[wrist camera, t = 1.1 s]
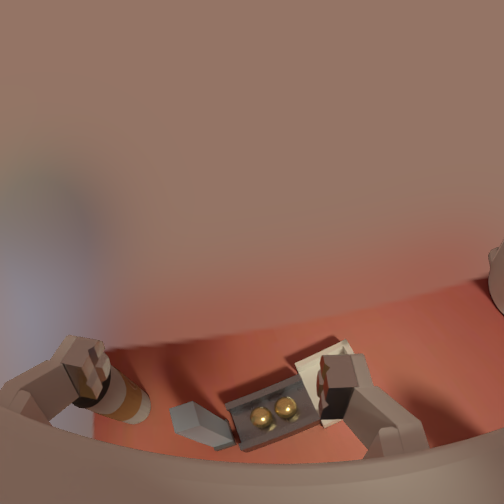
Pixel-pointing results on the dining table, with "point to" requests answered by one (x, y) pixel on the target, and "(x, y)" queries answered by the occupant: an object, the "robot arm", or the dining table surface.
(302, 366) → the ball tray
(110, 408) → the coffee cup
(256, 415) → the brass sphere
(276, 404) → the gold metallic ball
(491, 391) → the dining table surface
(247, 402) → the slot rail
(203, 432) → the tall gray pillar
